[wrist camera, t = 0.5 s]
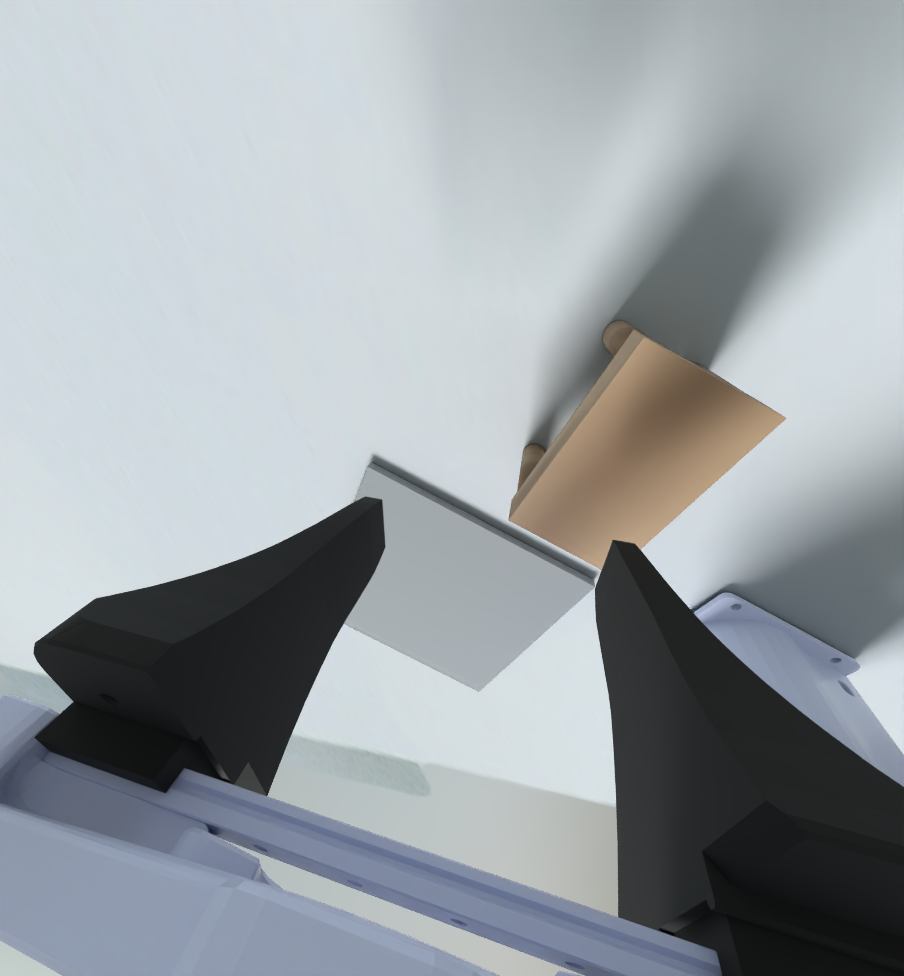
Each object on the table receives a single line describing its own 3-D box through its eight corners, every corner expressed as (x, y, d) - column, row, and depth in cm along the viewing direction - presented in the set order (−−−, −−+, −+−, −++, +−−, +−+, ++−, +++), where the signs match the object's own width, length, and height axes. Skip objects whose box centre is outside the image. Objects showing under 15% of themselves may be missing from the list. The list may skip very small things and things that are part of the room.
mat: (593, 579, 23) (594, 586, 23) (479, 685, 32) (478, 691, 32) (371, 462, 22) (367, 466, 22) (317, 603, 31) (313, 608, 31)
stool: (712, 371, 16) (786, 418, 11) (596, 499, 20) (611, 575, 15) (613, 315, 16) (644, 337, 11) (518, 457, 20) (508, 520, 15)
